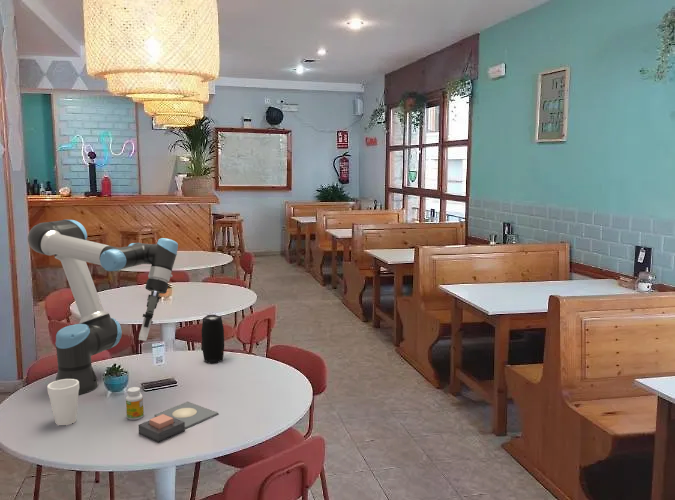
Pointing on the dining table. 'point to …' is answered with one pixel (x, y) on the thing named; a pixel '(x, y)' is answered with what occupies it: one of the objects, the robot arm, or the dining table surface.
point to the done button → (161, 421)
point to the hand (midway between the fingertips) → (142, 338)
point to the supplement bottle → (134, 404)
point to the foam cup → (64, 400)
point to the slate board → (189, 413)
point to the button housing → (161, 430)
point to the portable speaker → (212, 339)
